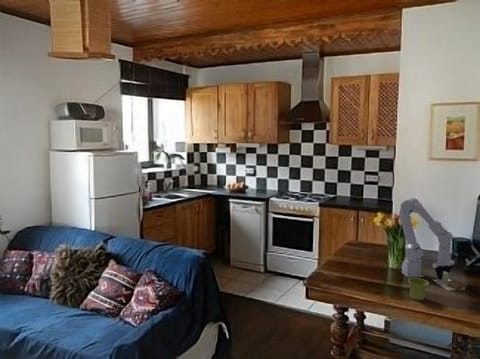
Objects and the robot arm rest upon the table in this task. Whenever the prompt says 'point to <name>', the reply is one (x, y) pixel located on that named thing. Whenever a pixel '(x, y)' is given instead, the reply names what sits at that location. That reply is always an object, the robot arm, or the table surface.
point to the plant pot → (418, 288)
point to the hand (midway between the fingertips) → (442, 278)
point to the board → (446, 285)
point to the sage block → (444, 277)
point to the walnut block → (456, 284)
